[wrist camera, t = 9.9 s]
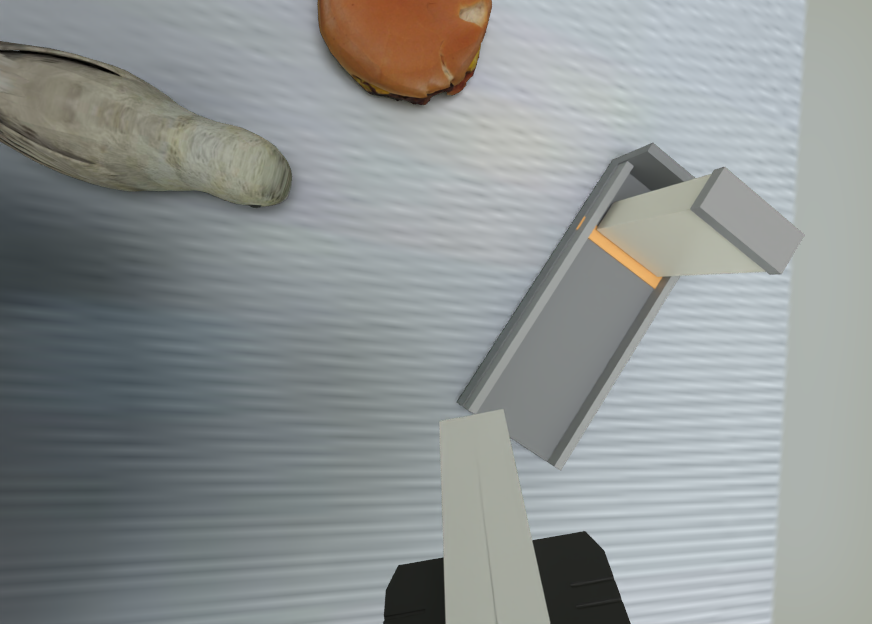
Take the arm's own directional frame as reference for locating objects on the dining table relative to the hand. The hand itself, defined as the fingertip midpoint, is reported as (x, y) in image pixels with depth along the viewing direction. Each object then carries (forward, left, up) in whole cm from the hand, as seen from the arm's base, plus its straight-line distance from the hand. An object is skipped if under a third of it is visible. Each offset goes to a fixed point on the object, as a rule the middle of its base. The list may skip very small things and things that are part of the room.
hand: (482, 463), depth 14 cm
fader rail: (-2, +13, -21) cm, 25 cm away
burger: (-19, +4, -21) cm, 29 cm away
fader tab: (-6, +16, -19) cm, 26 cm away
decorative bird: (-13, -11, -21) cm, 27 cm away
